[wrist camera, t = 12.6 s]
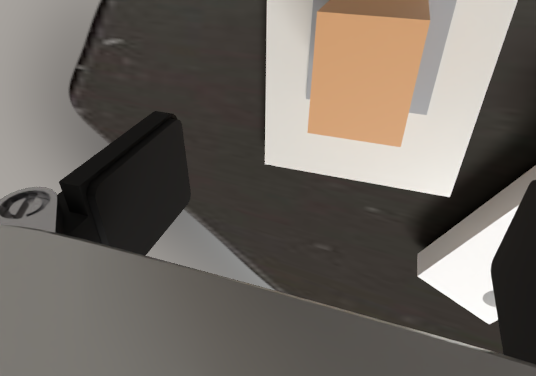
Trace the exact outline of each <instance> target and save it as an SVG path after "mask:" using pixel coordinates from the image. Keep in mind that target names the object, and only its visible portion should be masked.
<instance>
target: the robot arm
mask: <svg viewBox="0 0 536 376" xmlns="http://www.w3.org/2000/svg"><path fill="white" fill-rule="evenodd" d="M59 183H60V186H61V189H62V192H61V193H59V194H58V195H57V194H56V192H54V191H53V190H52V189H49V188H46V187H32V188H25V189H21V190H18V191H16V192H13V193H10V194H9V195H7V196H5V197H3V198H2V199H0V376H536V180H532V181H531V182H530V184H529V186H528V188H527V190H526V192H525V194H524V196H523V198H522V200H521V202H520V204H519V207H518V209H517V211H516V213H515V215H514V217H513V219H512V221H511V223H510V225H509V227H508V229H507V231H506V233H505V235H504V238H503V240H502V242H501V244H500V246H499V248H498V250H497V252H496V254H495V256H494V258H493V261H492V264H491V278H492V285H493V291H494V297H495V303H496V309H497V316H498V322H499V328H500V334H501V340H502V347H503V353H504V355H503V354H500V353H497V352H493V351H490V350H486V349H482V348H479V347H475V346H471V345H468V344H464V343H461V342H457V341H454V340H450V339H447V338H444V337H440V336H437V335H433V334H429V333H426V332H422V331H419V330H415V329H411V328H408V327H404V326H401V325H397V324H394V323H390V322H386V321H383V320H379V319H376V318H372V317H368V316H365V315H361V314H358V313H354V312H350V311H347V310H343V309H340V308H336V307H333V306H329V305H325V304H322V303H318V302H314V301H311V300H307V299H304V298H300V297H296V296H293V295H289V294H285V293H282V292H278V291H274V290H271V289H267V288H263V287H260V286H256V285H252V284H249V283H245V282H241V281H238V280H234V279H230V278H227V277H223V276H219V275H216V274H212V273H208V272H205V271H201V270H197V269H193V268H190V267H186V266H182V265H178V264H175V263H171V262H167V261H164V260H160V259H156V258H152V257H149V256H145V255H146V254H147V253H148V252H149V251H150V249H151V248H152V247H153V246H154V244H155V243H156V242H157V241H158V240H159V238H160V237H161V236H162V235H163V234H164V232H165V231H166V230H167V229H168V227H169V226H170V225H171V224H172V223H173V221H174V220H175V219H176V218H177V216H178V215H179V214H180V213H181V212H182V210H183V209H184V208H185V207H186V205H187V204H188V202H189V200H190V195H191V193H190V184H189V177H188V169H187V161H186V154H185V146H184V138H183V130H182V124H181V122H180V120H177V118H176V116H175V115H174V114H170V113H164V112H158V111H155V112H153V113H151V114H150V115H149V116H147V117H146V118H145V119H143V120H142V121H140V122H139V123H138V124H136V125H135V126H134V127H132V128H131V129H130V130H128V131H127V132H126V133H124V134H123V135H122V136H120V137H119V138H117V139H116V140H115V141H113V142H112V143H111V144H109V145H108V146H107V147H105V148H104V149H103V150H101V151H100V152H98V153H97V154H96V155H94V156H93V157H92V158H90V159H89V160H88V161H86V162H85V163H84V164H82V165H81V166H80V167H78V168H77V169H75V170H74V171H73V172H72V173H70V174H69V175H67V176H66V177H65V178H63V179H62V180H61V181H60V182H59Z"/></svg>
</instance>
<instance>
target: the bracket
mask: <svg viewBox="0 0 536 376" xmlns="http://www.w3.org/2000/svg"><path fill="white" fill-rule="evenodd" d="M532 180H536V165H535V166H534V167H533V168H531V169H530V170H529V171H527V172H526V173H525V174H523V175H522V176H521V177H519V178H518V179H517V180H515V181H514V182H513V183H511V184H510V185H509V186H507V187H506V188H505V189H503V190H502V191H501V192H499V193H498V194H497V195H495V196H494V197H493V198H491V199H490V200H489V201H487V202H486V203H485V204H483V205H482V206H481V207H479V208H478V209H477V210H475V211H474V212H473V213H471V214H470V215H469V216H467V217H466V218H465V219H463V220H462V221H461V222H459V223H458V224H457V225H455V226H454V227H453V228H451V229H450V230H449V231H447V232H446V233H445V234H443V235H442V236H441V237H439V238H438V239H437V240H435V241H434V242H433V243H431V244H430V245H429V246H427V247H426V248H425V249H423V250H422V251H421V252H419V253H418V258H417V276H418V277H419V278H421V279H422V280H424V281H425V282H427V283H428V284H430V285H431V286H433V287H434V288H436V289H437V290H439V291H440V292H442V293H443V294H445V295H446V296H448V297H449V298H451V299H452V300H454V301H455V302H456V303H458V304H459V305H461V306H462V307H464V308H465V309H467V310H468V311H470V312H471V313H473V314H474V315H476V316H477V317H479V318H480V319H482V320H483V321H485V322H486V323H488V324H491V323H493V322H495V321H497V320H498V316H497V309H496V303H495V297H494V291H493V285H492V278H491V264H492V261H493V258H494V256H495V254H496V252H497V250H498V248H499V246H500V244H501V242H502V240H503V238H504V235H505V233H506V231H507V229H508V227H509V225H510V223H511V221H512V219H513V217H514V215H515V213H516V211H517V209H518V207H519V204H520V202H521V200H522V198H523V196H524V194H525V192H526V190H527V188H528V186H529V184H530V182H531V181H532Z"/></svg>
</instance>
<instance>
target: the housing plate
mask: <svg viewBox="0 0 536 376" xmlns="http://www.w3.org/2000/svg"><path fill="white" fill-rule="evenodd" d="M328 1H329V0H267V35H266V113H265V164H268V165H273V166H279V167H285V168H290V169H296V170H301V171H307V172H312V173H318V174H323V175H329V176H335V177H340V178H346V179H351V180H357V181H362V182H368V183H374V184H379V185H385V186H390V187H396V188H401V189H407V190H412V191H418V192H424V193H429V194H435V195H440V196H446V197H450V195H451V193H452V190H453V187H454V184H455V181H456V178H457V175H458V172H459V169H460V166H461V164H462V161H463V158H464V155H465V152H466V149H467V146H468V143H469V140H470V137H471V134H472V132H473V129H474V126H475V123H476V120H477V117H478V114H479V111H480V108H481V105H482V102H483V100H484V97H485V94H486V91H487V88H488V85H489V82H490V79H491V76H492V73H493V70H494V68H495V65H496V62H497V59H498V56H499V53H500V50H501V47H502V44H503V41H504V39H505V36H506V33H507V30H508V27H509V24H510V21H511V18H512V15H513V12H514V9H515V7H516V4H517V1H518V0H429V11H430V24H429V28H428V32H427V37H426V41H425V45H424V50H423V54H422V58H421V62H420V67H419V71H418V75H417V80H416V84H415V88H414V92H413V97H412V101H411V105H410V109H409V114H408V118H407V122H406V127H405V131H404V135H403V139H402V144H401V147H396V146H389V145H383V144H376V143H370V142H363V141H357V140H350V139H344V138H337V137H331V136H324V135H318V134H311V133H307V132H308V119H309V107H310V94H311V81H312V69H313V56H314V43H315V31H316V18H317V11H318V10H319V9H320V8H321V7H323V6H324V5H325V4H326V3H327V2H328Z"/></svg>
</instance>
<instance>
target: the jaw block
mask: <svg viewBox="0 0 536 376" xmlns="http://www.w3.org/2000/svg"><path fill="white" fill-rule="evenodd" d="M429 24H430V11H429V0H329V1H328V2H327V3H326V4H325V5H324V6H323V7H321V8H320V9H319V10H318V11H317V18H316V31H315V43H314V56H313V69H312V81H311V94H310V107H309V119H308V132H307V133H311V134H318V135H324V136H331V137H337V138H344V139H350V140H357V141H363V142H370V143H376V144H383V145H389V146H396V147H401V144H402V139H403V135H404V131H405V127H406V122H407V118H408V114H409V109H410V105H411V101H412V97H413V92H414V88H415V84H416V80H417V75H418V71H419V67H420V62H421V58H422V54H423V50H424V45H425V41H426V37H427V32H428V28H429Z"/></svg>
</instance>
